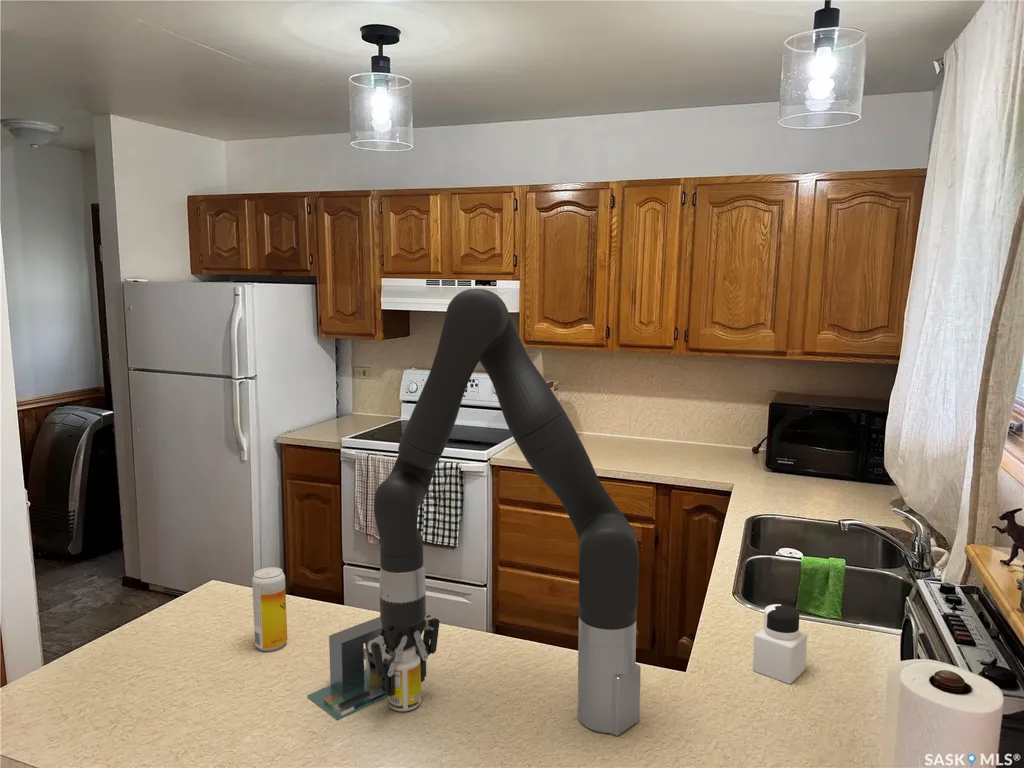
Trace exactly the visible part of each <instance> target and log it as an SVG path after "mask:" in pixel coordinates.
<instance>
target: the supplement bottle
mask: <svg viewBox="0 0 1024 768" xmlns="http://www.w3.org/2000/svg"><path fill="white" fill-rule="evenodd" d="M391 654H393V655H394V652H393V651H392V652H391ZM388 665H389V663H388ZM393 674H394V677H395V695H393V696H391V697H390V696H387V700H388V706H389V707H390V708H391V709H392V710H394V711H397V712H408V711H412V710H414V709H416V708H417V707H419V705H420V704H421V701H422V682H421V664H420V656H419V655H418V654H417V653H416V650H415V646H413V647H410V648H408V649H406V650H403V651H402V654H401V658H400V661H399V662H398V663H397V664H396V667H395V670H394V673H393Z"/></svg>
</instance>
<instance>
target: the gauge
mask: <svg viewBox="0 0 1024 768" xmlns="http://www.w3.org/2000/svg"><path fill="white" fill-rule="evenodd" d="M381 630H382V622H381V619H380V616H378V617H375V618H373V619H370V620H367V621H364V622H362V623H359V624H356V625H354V626H351V627H349V628H346V629H343V630H340V631H337V632H335V633H332V634H330V635H328V641H329V642H328V646H329V647H328V649H329V676H330V677H329V679H330V683H329V684H330V685H328V686H325V687H323V688H321V689H318V690H316V691H313V692H312V693H310V694H307V696H306V697H307V698H308V699H309V700H310V701H311V702H313V703H314V704H315V705H317V706H318V707H320V708H321V709H322V710H323V711H324V712H326V713H327V714H329V715H330V716H331V717H333V718H334V719H335V720H336V721H338V720H341V719H342V718H343V719H344V718H345V717H346V716H347V717H348V716H349V715H351V714H353V713H355V712H357V711H359V710H361V709H364V708H366V707H367V706H370V705H373V704H374V703H377V702H378V701H381V700H383V699H385V698H388V695H387V694H385V693H383V694H381V695H379V696H377V697H374V698H372V699H369V698H368V697H366V698H364V699H361V700H359V701H357V702H355V703H353V704H351V705H348V706H346V707H344V708H342V709H341V708H339V707H338V704H340V703H342V702H344V701H346V700H348V699H351V698H353V697H355V696H357V695H359V694H362V693H364V692H366V691H367V677H366V669H365V659H364V648H365V647H364V645H365V641H366V640H367V639H371V640H374V639H375V638H377V637H379V636H380V633H381ZM384 645H385V643H383V645H382V647H383V646H384Z"/></svg>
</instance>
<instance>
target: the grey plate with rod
mask: <svg viewBox="0 0 1024 768" xmlns="http://www.w3.org/2000/svg"><path fill="white" fill-rule="evenodd" d="M383 648H384V646H383V647H382V649H383ZM390 652H392V651H391V650H390ZM381 655H382V652H381ZM364 661H365V670H366V677H367V691H366V692H364V693H362V694H359V695H357V696H355V697H353V698H351V699H348V700H346V701H344V702H342V703H340V704H338V707H339V708H341V709H342V708H344V707H346V706H348V705H351V704H353V703H355V702H357V701H359V700H361V699H364V698H366V697H368V698H369V699H372V698H374V697H377V696H379V695H381V694H383V693H384V692H383V691H382V689H381V677H379V676H378V675H376V674H375V673H373V672H371V671H370V667H369V662H368V657H367V652H366V647H364Z"/></svg>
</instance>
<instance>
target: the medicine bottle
mask: <svg viewBox="0 0 1024 768" xmlns="http://www.w3.org/2000/svg"><path fill="white" fill-rule="evenodd" d="M799 629H800V613H799V612H798V610H797V609H795V608H793V607H792V606H789V605H786V604H781V603H780V604H779V603H778V604H777V603H775V604H770V605H767V606H766V607H765V608H764V611H763V628H762V629H760V630H759V631H758V632H756V633H755V634H754V636H753V653H752V654H753V655H752V656H753V657H752V670H753V672H755V673H758V674H761V675H764V676H766V677H769V678H772V679H774V680H778V681H780V682H783V683H785V684H787V685H791V684H792V683H793V682H794V681H795V680H796V679H797V678H798V677H799V676H800V675H802V674H803V672H804V671H805V670H806V664H807V663H806V661H807V660H806V659H807V646H808V645H807V644H808V643H807V642H808V635H807V633H805V632H801V631H800V630H799Z"/></svg>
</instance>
